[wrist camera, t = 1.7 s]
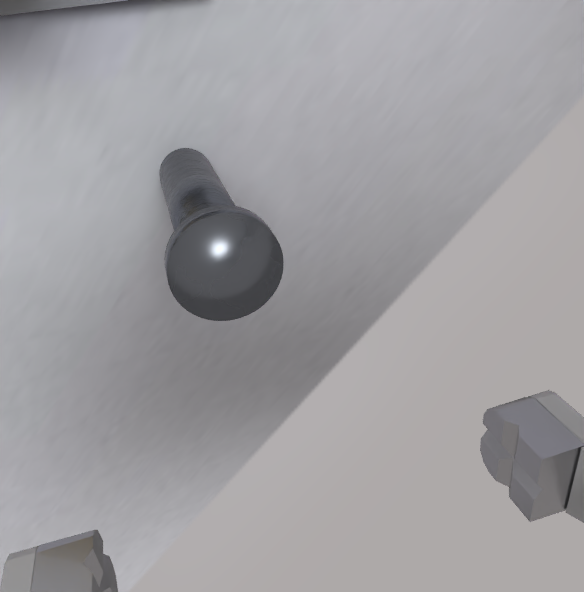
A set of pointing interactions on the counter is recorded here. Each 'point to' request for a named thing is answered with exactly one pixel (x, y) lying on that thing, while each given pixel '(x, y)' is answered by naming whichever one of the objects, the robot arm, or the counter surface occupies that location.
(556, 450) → the robot arm
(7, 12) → the mounting board
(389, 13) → the counter surface
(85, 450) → the counter surface
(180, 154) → the hinge pin
